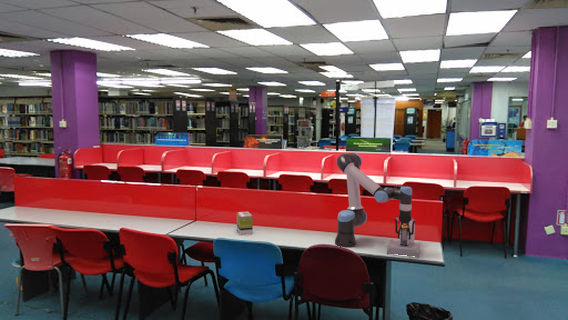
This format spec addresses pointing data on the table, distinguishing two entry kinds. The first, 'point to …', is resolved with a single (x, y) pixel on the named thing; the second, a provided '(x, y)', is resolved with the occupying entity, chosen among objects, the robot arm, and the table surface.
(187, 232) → the table surface
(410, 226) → the milk carton
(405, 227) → the grey orange-topped cylinder
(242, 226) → the tea box
